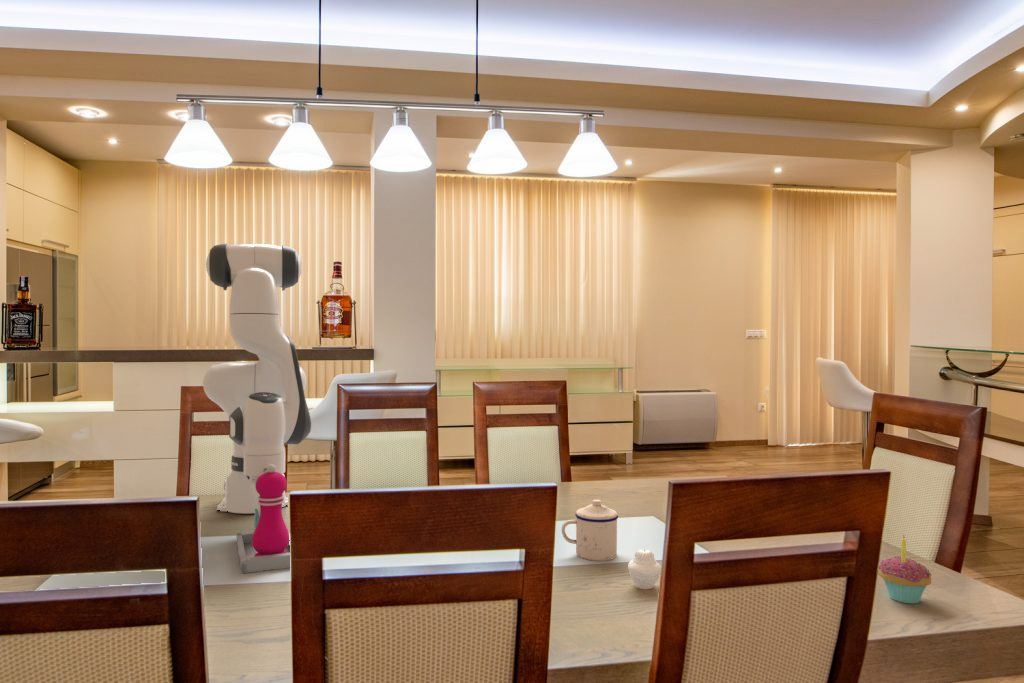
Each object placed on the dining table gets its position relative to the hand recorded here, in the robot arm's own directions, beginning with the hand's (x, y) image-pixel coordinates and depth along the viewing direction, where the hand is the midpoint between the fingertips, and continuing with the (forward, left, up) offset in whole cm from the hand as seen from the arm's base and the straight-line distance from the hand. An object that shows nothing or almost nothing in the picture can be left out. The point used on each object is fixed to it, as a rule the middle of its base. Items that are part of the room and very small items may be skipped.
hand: (264, 526), depth 153 cm
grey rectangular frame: (+10, 0, -3) cm, 10 cm away
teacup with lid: (+36, +63, -3) cm, 73 cm away
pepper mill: (+16, 0, -3) cm, 16 cm away
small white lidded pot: (+56, +63, -3) cm, 85 cm away
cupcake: (+79, +103, -3) cm, 130 cm away
